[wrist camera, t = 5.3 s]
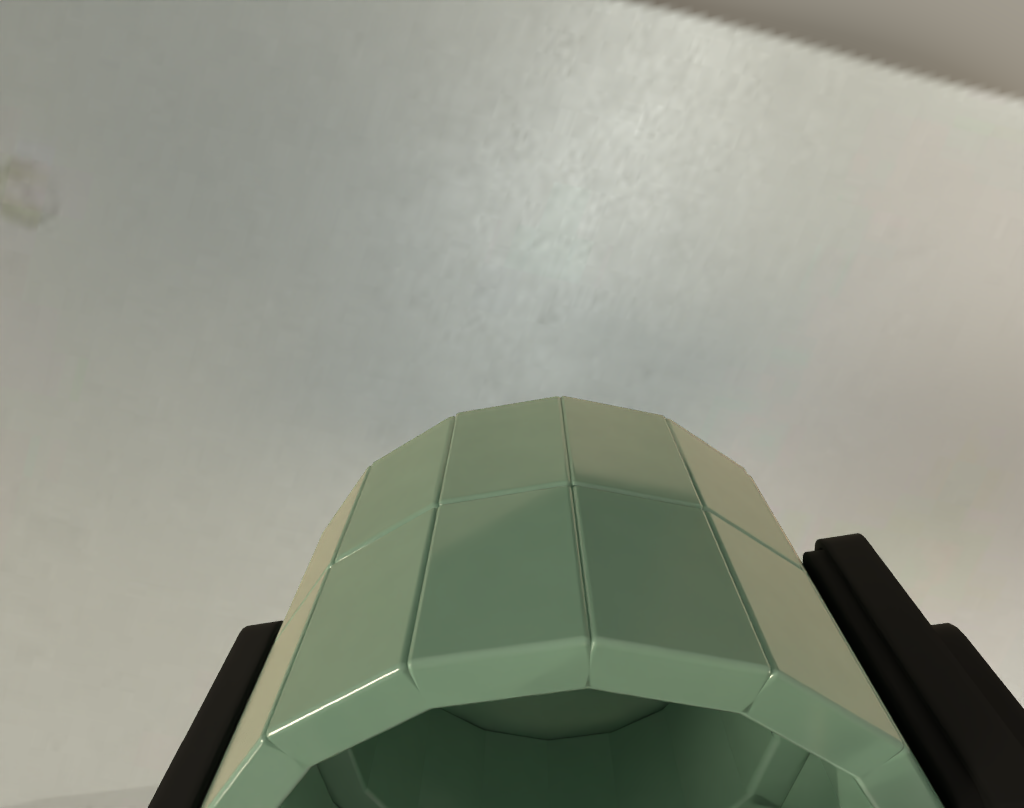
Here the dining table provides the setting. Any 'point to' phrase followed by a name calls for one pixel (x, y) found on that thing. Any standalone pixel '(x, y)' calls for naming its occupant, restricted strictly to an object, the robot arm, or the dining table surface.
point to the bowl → (562, 637)
